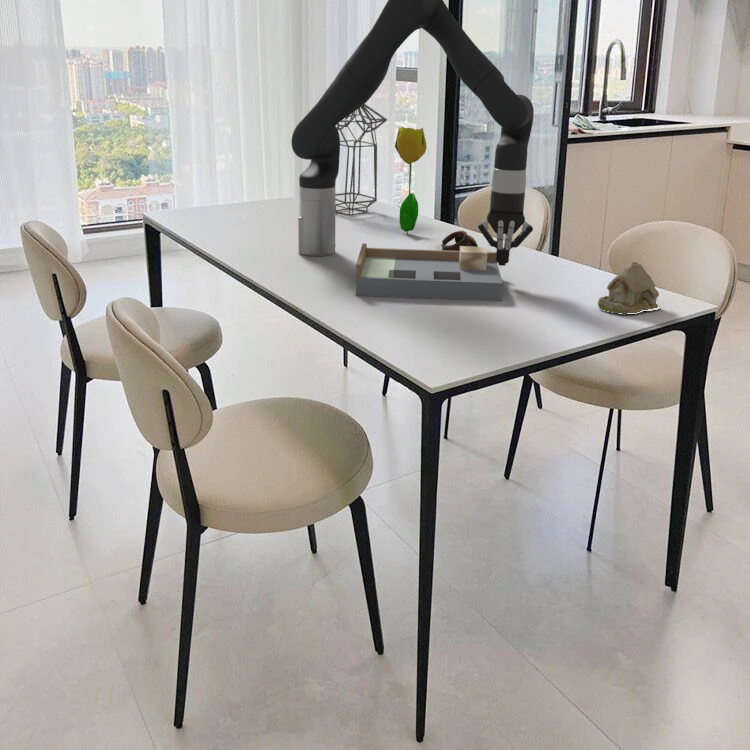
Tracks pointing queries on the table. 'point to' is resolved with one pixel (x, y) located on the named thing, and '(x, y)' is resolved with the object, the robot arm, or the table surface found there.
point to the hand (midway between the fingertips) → (502, 264)
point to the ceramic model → (630, 292)
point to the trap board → (424, 275)
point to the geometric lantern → (359, 158)
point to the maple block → (472, 258)
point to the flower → (410, 150)
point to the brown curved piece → (458, 241)
